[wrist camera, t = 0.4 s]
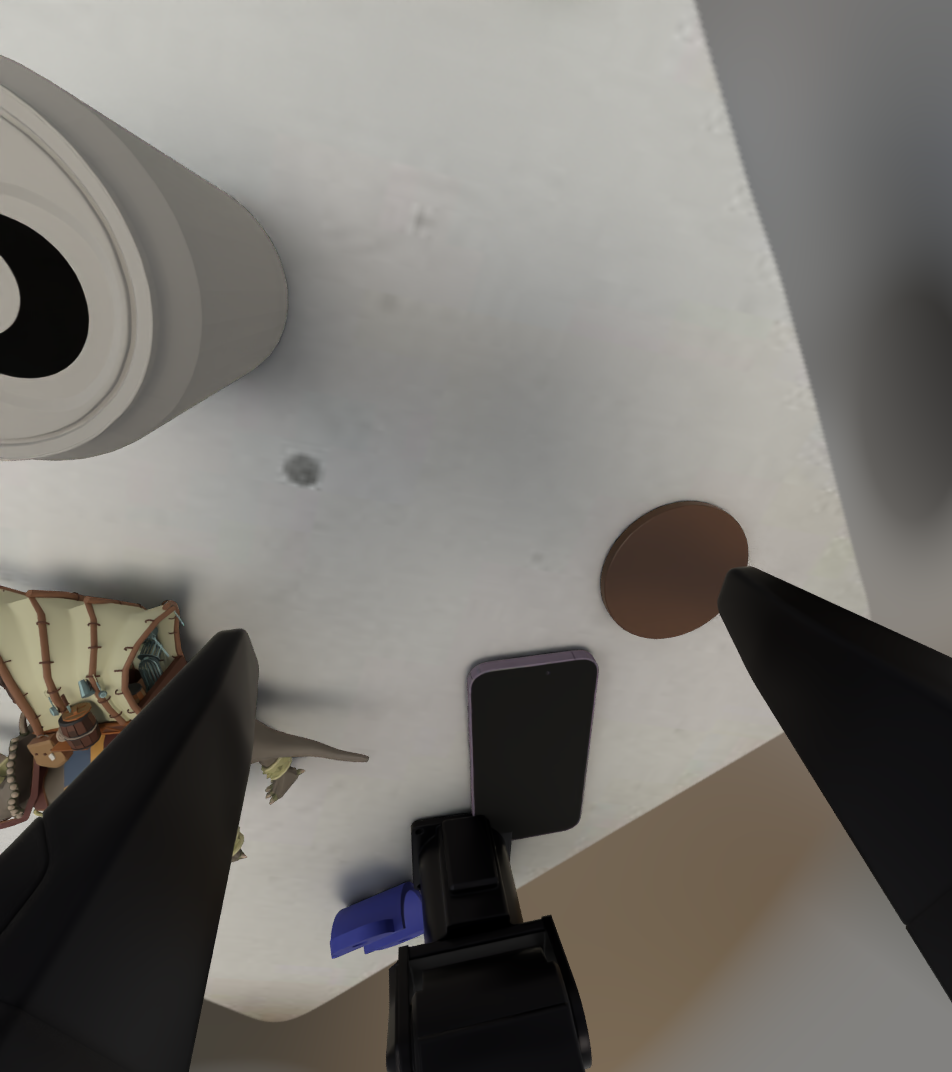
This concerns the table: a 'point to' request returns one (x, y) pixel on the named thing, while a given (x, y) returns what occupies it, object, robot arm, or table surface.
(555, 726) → the smartphone
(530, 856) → the table surface
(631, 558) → the coaster
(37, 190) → the beverage can
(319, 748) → the figurine
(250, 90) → the table surface
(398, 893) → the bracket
